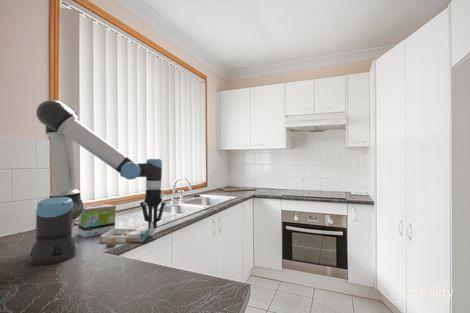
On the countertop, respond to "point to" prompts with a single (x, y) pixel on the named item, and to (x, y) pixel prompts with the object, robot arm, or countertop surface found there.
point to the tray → (143, 237)
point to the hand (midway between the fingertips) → (152, 234)
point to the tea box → (96, 220)
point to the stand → (110, 242)
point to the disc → (134, 234)
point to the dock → (116, 231)
